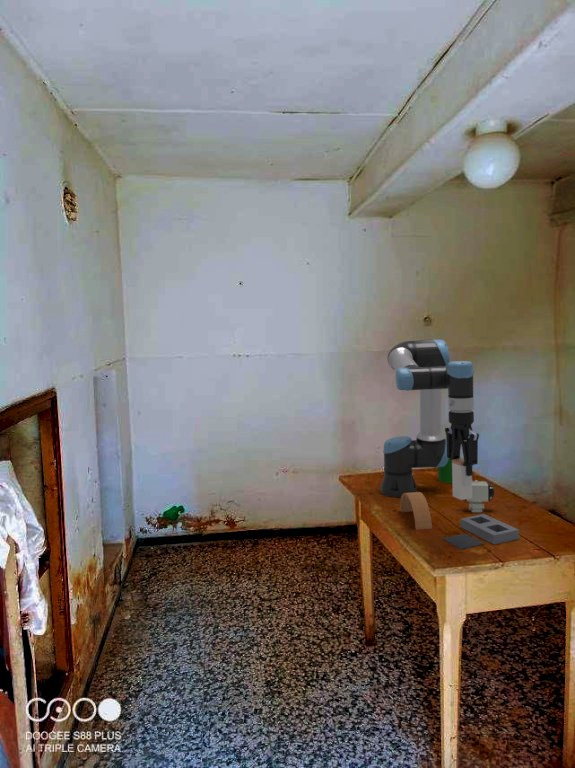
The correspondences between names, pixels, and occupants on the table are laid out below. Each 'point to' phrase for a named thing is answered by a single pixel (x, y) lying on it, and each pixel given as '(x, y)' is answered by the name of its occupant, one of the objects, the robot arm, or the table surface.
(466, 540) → the mat
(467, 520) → the grey boxy piece
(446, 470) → the green tall piece
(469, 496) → the plug
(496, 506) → the table surface
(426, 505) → the arch
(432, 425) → the robot arm
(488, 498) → the pneumatic valve
